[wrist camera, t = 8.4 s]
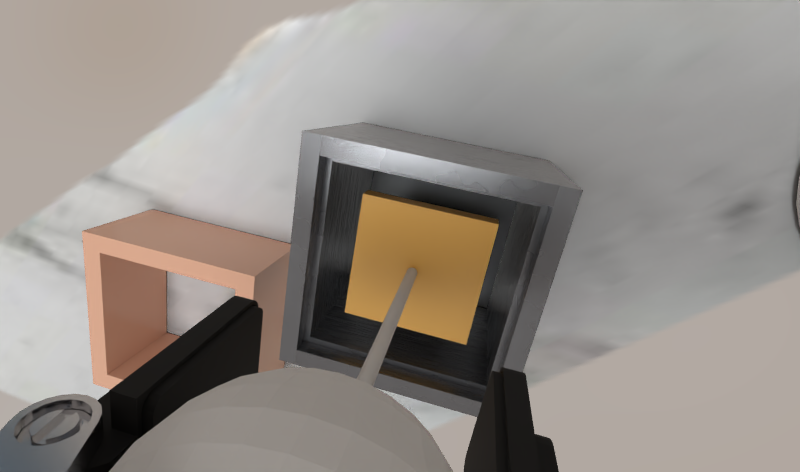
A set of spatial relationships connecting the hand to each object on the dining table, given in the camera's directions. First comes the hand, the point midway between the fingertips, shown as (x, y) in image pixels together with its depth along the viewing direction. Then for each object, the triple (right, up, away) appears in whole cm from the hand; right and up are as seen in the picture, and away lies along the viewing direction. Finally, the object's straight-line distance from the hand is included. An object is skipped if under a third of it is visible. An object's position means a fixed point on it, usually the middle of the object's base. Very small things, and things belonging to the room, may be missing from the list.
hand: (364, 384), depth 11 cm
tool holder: (-11, 0, +17) cm, 21 cm away
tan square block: (+2, +3, +11) cm, 11 cm away
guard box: (+3, +4, +13) cm, 14 cm away
